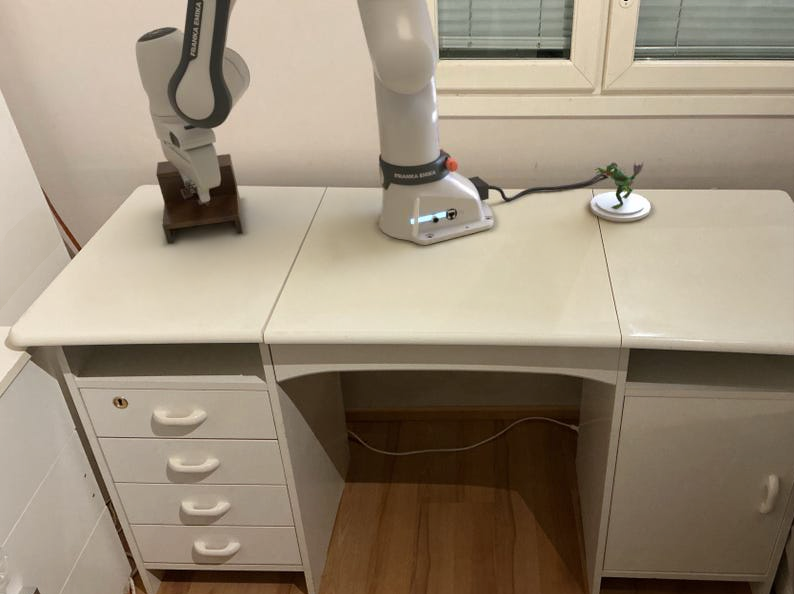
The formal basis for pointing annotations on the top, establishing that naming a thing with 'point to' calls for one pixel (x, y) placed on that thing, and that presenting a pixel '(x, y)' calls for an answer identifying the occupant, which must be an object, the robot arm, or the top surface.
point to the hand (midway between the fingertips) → (198, 194)
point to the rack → (188, 209)
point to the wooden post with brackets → (188, 193)
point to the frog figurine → (620, 198)
